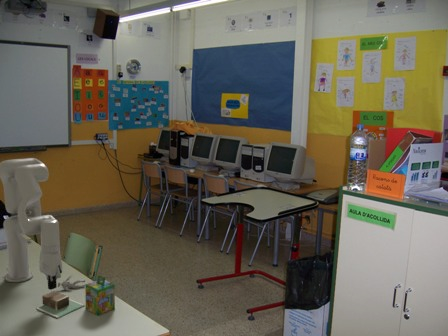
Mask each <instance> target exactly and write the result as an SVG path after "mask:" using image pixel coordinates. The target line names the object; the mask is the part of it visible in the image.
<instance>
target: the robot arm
mask: <svg viewBox="0 0 448 336" xmlns="http://www.w3.org/2000/svg"><path fill="white" fill-rule="evenodd" d="M49 177H50V173H49V169H48V167H47V165H45V163H44V162H42V161H40V160H39V159H37V158H35V157H27V158H15V159H7V160H2V161H1V162H0V181H1V182H2V187H3V195H4V197H3V198H4V205H5V210H6V212H7V213H8V214H17V215H12V216H9V217H7V218H5V220H4V221H3V224H2V225H3V229H4V234H5V239H6V240H5V241H6V249H7V252H6V253H7V265H8V266H7V268H5V270H6V271H7V273H8V274H6V275H5V281H6V282H10V283H21V282H26V281H28V280H31V279H32V278H33V277H34V273H33V271H31V270H30V260H29V259H30V258H29V257H30V254H29V242H28V240H27V239H26V238H25V237H24V236H23V235H25V236H33V235H35V236H36V235H40V249H41V250H40V252H39V261H38V262H39V265H38V267H39V271H40V273H42V274H44V275H45V276H46V280H47V289H48V290H51V291H52V290H54V289H56V288H57V287H58V283H57V280H58V279H60V278H61V277H62V276H61V275H62V273H63V261H62V260H63V259H62V254H61V245H60V244H61V243H60V223H59V221H58V219H56V218H55V217H54V216H53V215H51V214H44V215H42V205H41V200H40V199H41V198H42V197H43V191H42V189H41V186H40V183H41V182H46V181H48V179H49ZM27 212H28V213H27Z"/></svg>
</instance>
